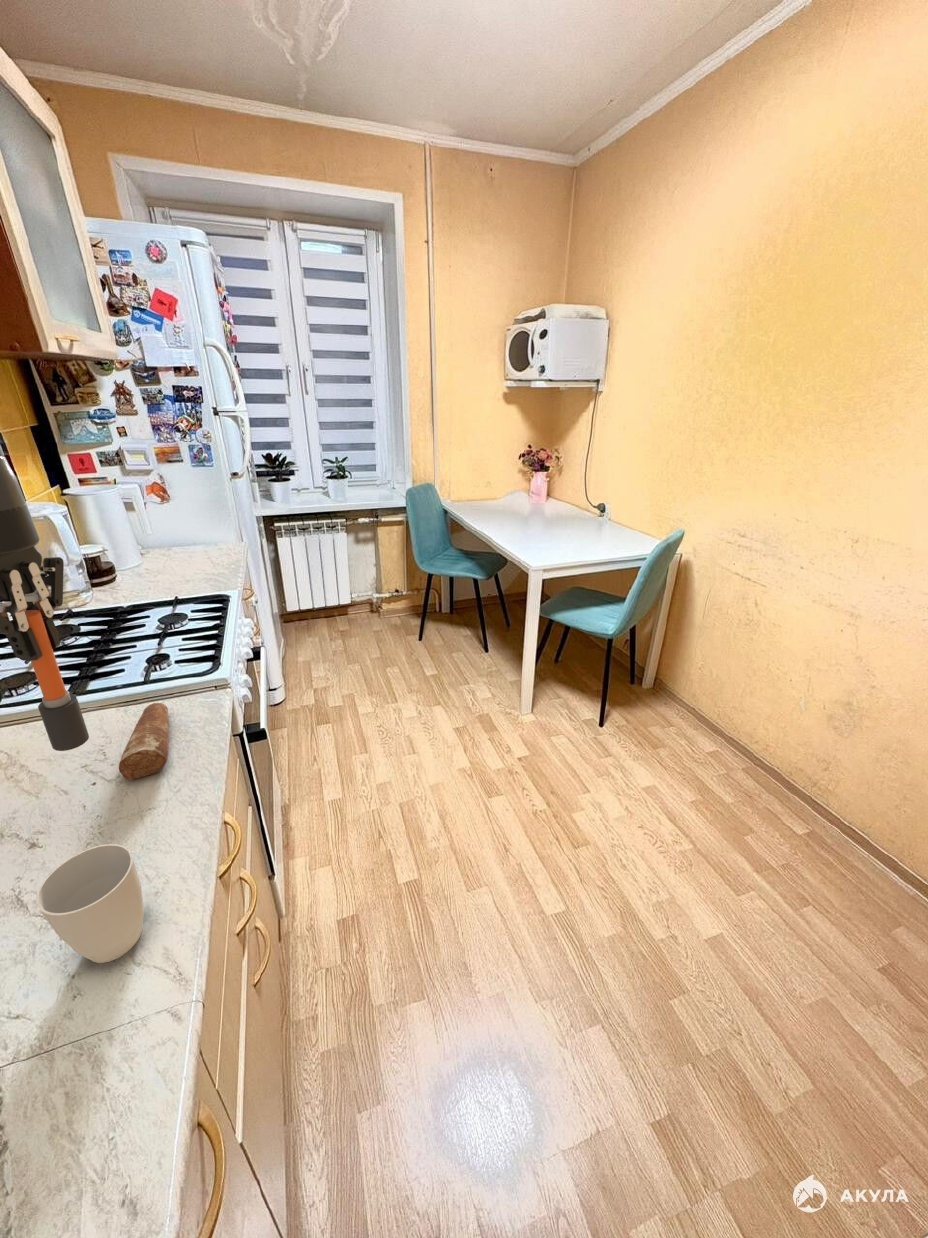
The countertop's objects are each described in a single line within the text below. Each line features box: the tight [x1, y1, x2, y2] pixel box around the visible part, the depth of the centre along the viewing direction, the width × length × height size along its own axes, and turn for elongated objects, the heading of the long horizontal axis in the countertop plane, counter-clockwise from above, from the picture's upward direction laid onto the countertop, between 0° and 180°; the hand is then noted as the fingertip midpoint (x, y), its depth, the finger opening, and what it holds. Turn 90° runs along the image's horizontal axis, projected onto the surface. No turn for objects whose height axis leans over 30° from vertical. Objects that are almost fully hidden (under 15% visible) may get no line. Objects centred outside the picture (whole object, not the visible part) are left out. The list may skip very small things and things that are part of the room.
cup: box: [35, 843, 145, 964], centre depth 53 cm, size 8×8×10 cm
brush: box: [25, 610, 90, 752], centre depth 60 cm, size 4×4×18 cm
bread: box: [118, 702, 169, 780], centre depth 84 cm, size 6×19×6 cm, turn 22°
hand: (40, 652), depth 58 cm, fingers closed on brush, 2 cm apart
